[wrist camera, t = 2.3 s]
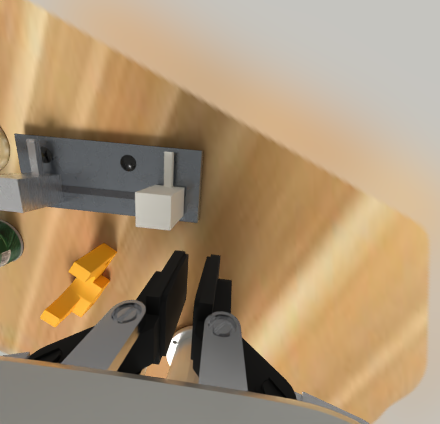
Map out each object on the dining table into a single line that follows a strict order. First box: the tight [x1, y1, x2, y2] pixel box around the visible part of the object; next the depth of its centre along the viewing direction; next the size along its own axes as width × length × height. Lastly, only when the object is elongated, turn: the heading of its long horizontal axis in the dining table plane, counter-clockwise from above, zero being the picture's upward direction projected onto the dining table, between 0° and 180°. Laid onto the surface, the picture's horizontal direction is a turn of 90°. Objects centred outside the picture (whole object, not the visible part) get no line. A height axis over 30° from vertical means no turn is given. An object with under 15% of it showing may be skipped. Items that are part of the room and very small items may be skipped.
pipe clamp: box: [40, 243, 117, 327], centre depth 32 cm, size 12×4×6 cm, turn 142°
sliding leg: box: [135, 151, 184, 230], centre depth 25 cm, size 8×4×6 cm, turn 175°
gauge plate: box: [0, 134, 204, 223], centre depth 26 cm, size 10×26×8 cm, turn 85°
